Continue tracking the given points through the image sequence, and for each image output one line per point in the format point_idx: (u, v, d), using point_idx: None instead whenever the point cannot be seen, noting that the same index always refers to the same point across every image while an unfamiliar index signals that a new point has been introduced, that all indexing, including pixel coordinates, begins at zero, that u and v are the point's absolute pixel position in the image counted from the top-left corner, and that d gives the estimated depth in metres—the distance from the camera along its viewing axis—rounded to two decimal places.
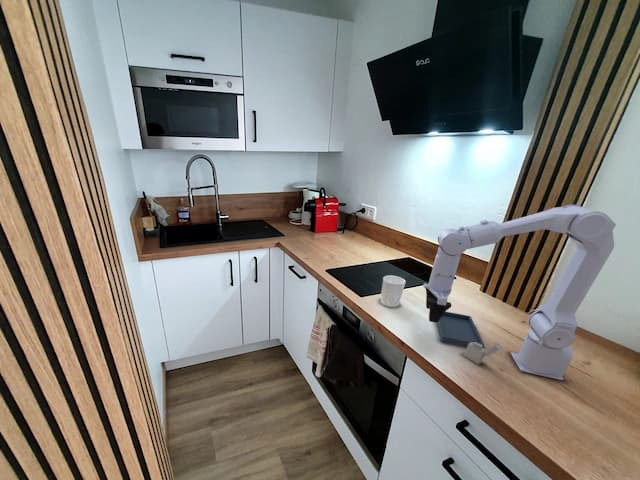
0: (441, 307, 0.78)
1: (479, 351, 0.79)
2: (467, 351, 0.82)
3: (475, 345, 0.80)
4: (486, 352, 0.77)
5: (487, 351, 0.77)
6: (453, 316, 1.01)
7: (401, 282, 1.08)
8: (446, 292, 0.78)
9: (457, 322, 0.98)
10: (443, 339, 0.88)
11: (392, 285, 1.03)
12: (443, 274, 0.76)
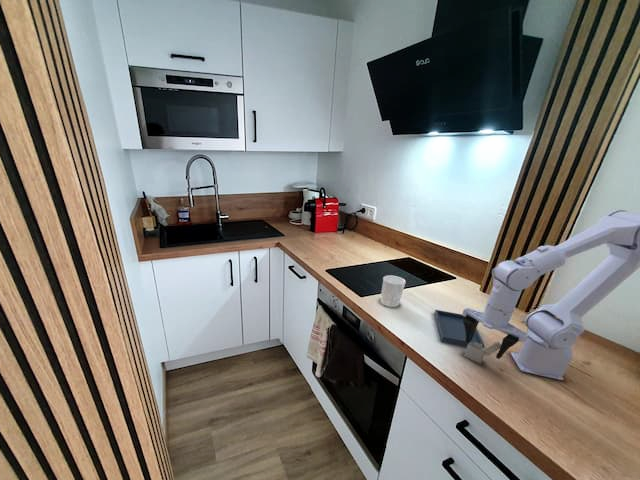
0: None
1: (480, 351, 0.79)
2: (467, 351, 0.82)
3: (475, 345, 0.80)
4: (487, 351, 0.78)
5: (488, 350, 0.77)
6: (453, 316, 1.01)
7: (401, 282, 1.08)
8: (507, 324, 0.74)
9: (457, 322, 0.98)
10: (443, 339, 0.88)
11: (392, 285, 1.03)
12: (505, 310, 0.71)
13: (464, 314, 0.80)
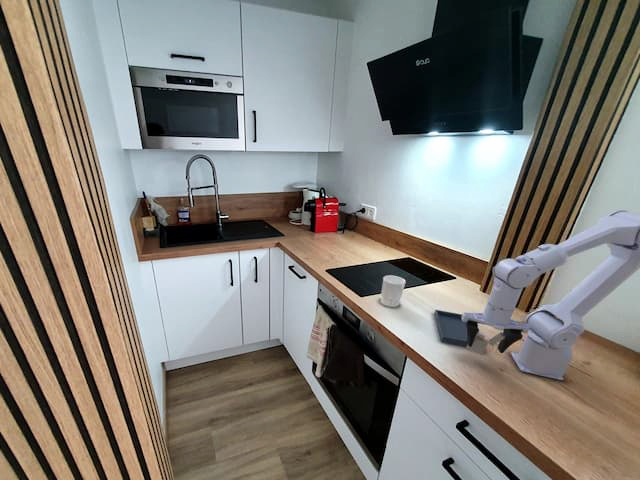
0: None
1: (483, 342, 0.78)
2: None
3: (478, 336, 0.79)
4: (490, 342, 0.77)
5: (491, 341, 0.77)
6: (453, 316, 1.01)
7: (401, 282, 1.08)
8: None
9: (457, 322, 0.98)
10: (443, 339, 0.88)
11: (392, 285, 1.03)
12: (506, 308, 0.70)
13: (465, 320, 0.76)
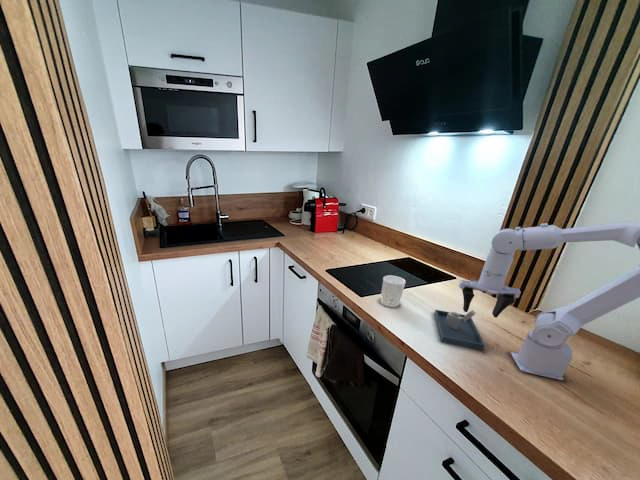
0: None
1: (457, 319, 0.93)
2: (447, 320, 0.95)
3: (453, 314, 0.94)
4: (463, 319, 0.92)
5: (464, 318, 0.91)
6: None
7: (401, 282, 1.08)
8: None
9: None
10: (443, 339, 0.88)
11: (392, 285, 1.03)
12: (491, 272, 0.78)
13: (462, 287, 0.83)
